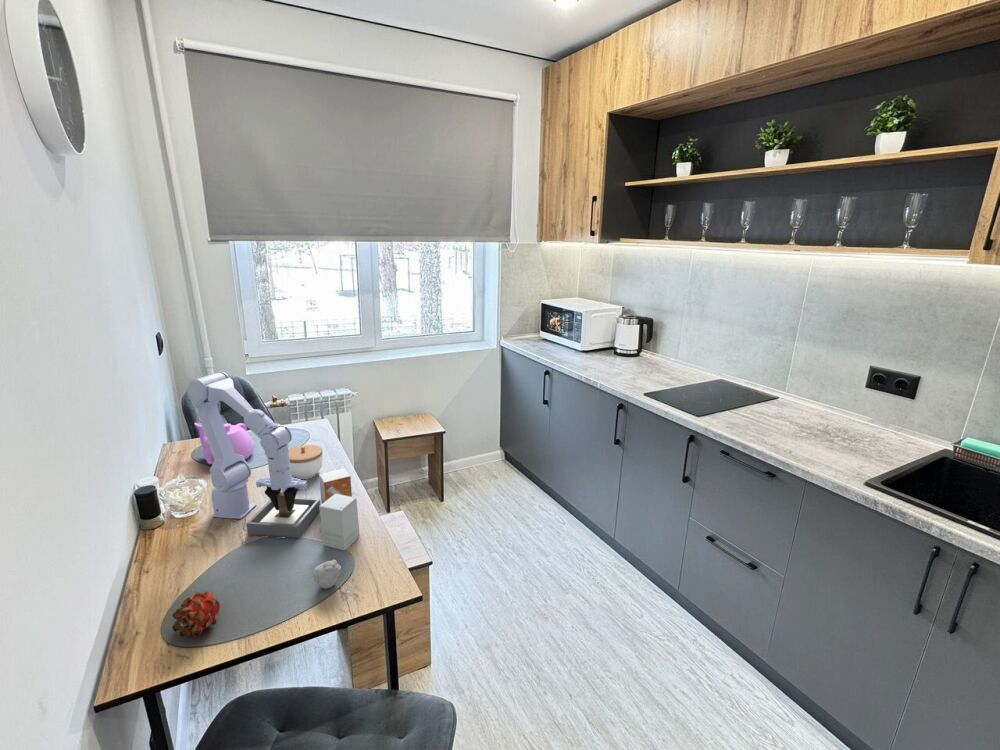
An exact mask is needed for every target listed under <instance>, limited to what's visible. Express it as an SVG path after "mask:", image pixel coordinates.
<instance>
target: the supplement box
mask: <svg viewBox="0 0 1000 750" xmlns="http://www.w3.org/2000/svg"><path fill="white" fill-rule="evenodd" d="M357 500H358V499H357V497H355V496H352V497H350V496H345V495H340V494H334V495H333V496H332V497H330V498H329V499H328V500H327V501H325V502H324V503H323V504H321V505H320V506H319V509H320V513H319V516H320V524H321V525H320V526H321V527H320V528H321V535H322V542H323V544H322V545H323V546H325V547H329V548H333V549H337V550H341V551H346V550H347V549H348V548H349V547H350V546H351V545H352V544H354V542H355V541H356V540H358V538H360V526H359V525H360V524H359V514H358V512H359V511H358V501H357Z"/></svg>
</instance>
